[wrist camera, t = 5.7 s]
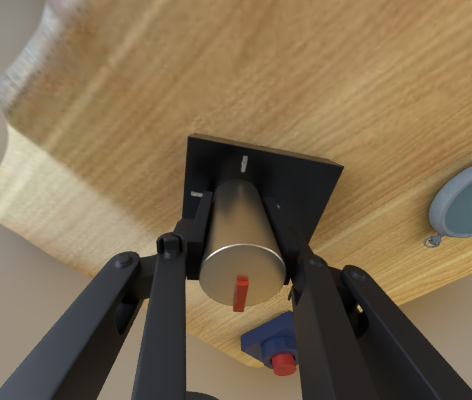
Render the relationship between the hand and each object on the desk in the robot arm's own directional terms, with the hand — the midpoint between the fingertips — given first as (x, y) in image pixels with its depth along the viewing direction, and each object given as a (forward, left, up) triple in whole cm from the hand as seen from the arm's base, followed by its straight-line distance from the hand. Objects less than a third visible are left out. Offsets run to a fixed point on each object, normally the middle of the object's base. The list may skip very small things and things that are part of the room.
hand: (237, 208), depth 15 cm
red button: (+13, -27, -1) cm, 30 cm away
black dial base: (+2, 0, -5) cm, 5 cm away
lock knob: (0, 0, -2) cm, 2 cm away
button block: (+13, -27, -5) cm, 30 cm away
